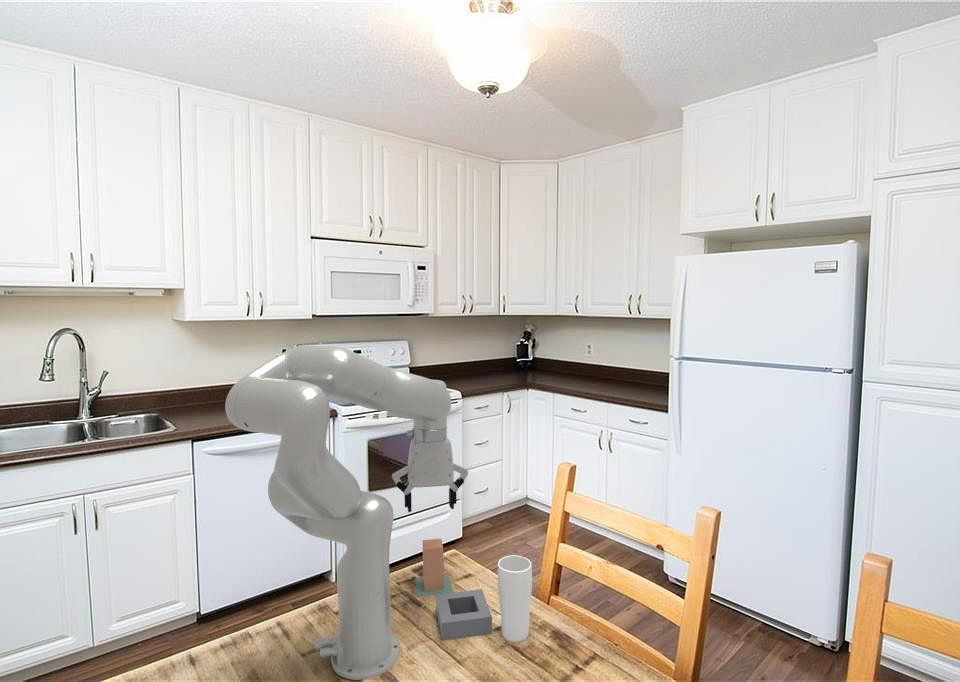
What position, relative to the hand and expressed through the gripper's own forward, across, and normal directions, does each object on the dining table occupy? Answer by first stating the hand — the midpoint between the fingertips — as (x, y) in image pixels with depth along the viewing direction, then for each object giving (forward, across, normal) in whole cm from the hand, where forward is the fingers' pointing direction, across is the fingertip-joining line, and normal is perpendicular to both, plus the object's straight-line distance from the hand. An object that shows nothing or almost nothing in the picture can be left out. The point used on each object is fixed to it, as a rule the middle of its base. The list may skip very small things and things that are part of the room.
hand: (430, 508), depth 119 cm
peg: (+19, +1, +1) cm, 19 cm away
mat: (+19, +1, +1) cm, 19 cm away
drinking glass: (+20, +15, -20) cm, 32 cm away
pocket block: (+19, +5, -14) cm, 24 cm away
